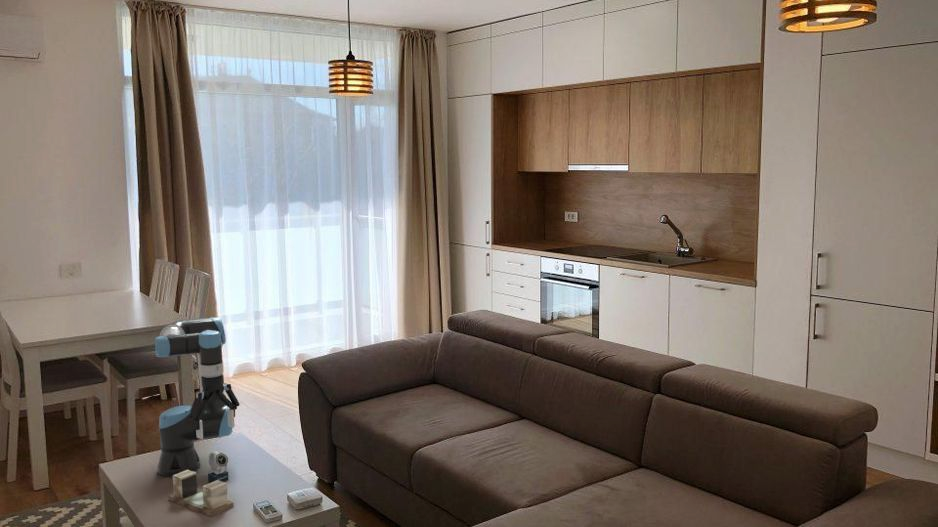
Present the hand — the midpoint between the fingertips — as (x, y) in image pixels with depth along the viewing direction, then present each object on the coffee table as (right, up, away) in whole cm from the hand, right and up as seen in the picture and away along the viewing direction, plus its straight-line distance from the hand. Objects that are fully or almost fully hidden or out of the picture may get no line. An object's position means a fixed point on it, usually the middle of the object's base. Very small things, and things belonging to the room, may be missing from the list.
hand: (215, 432), depth 280 cm
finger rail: (0, -21, -15) cm, 26 cm away
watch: (0, -18, +2) cm, 19 cm away
